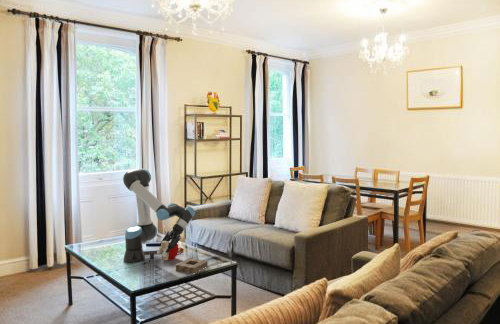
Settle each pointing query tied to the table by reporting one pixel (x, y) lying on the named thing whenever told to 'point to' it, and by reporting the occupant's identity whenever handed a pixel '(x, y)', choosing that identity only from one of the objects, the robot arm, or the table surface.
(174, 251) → the ceramic cup
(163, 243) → the peg
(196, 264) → the board
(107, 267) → the table surface
